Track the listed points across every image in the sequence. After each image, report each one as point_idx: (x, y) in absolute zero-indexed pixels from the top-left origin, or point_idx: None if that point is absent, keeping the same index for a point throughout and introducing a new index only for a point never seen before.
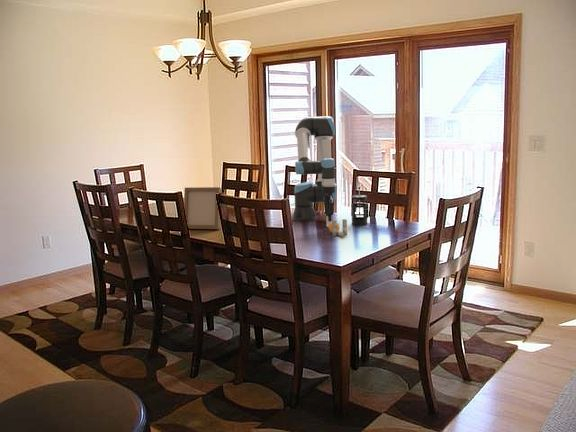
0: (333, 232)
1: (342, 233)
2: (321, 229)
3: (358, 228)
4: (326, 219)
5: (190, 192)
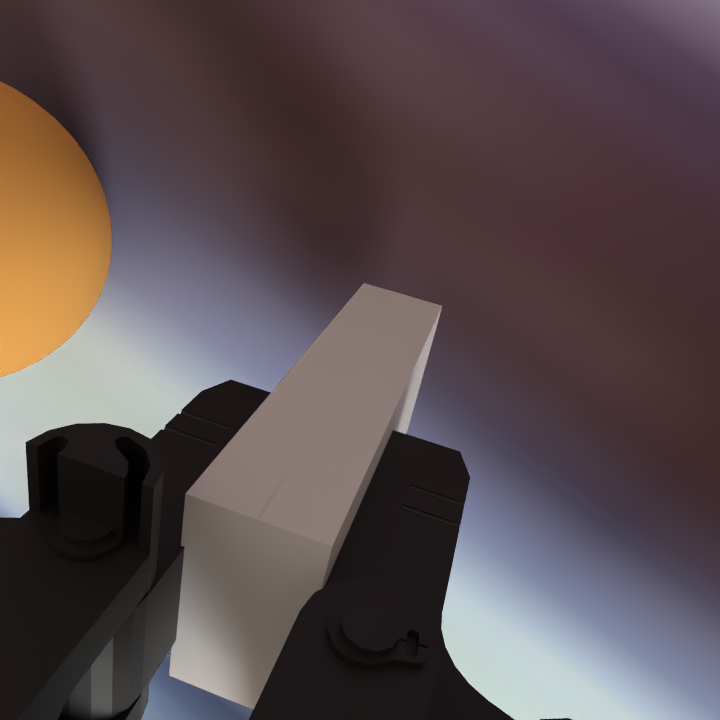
0: None
1: None
2: (598, 182)
3: (186, 716)
4: (378, 415)
5: None
